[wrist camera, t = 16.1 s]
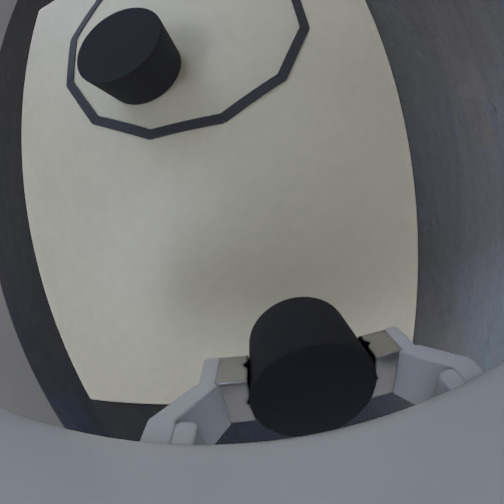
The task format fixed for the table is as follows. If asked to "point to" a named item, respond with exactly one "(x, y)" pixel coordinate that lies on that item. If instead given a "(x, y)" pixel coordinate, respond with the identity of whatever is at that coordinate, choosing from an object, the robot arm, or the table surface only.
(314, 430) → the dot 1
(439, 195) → the table surface
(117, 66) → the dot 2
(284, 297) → the sheet
